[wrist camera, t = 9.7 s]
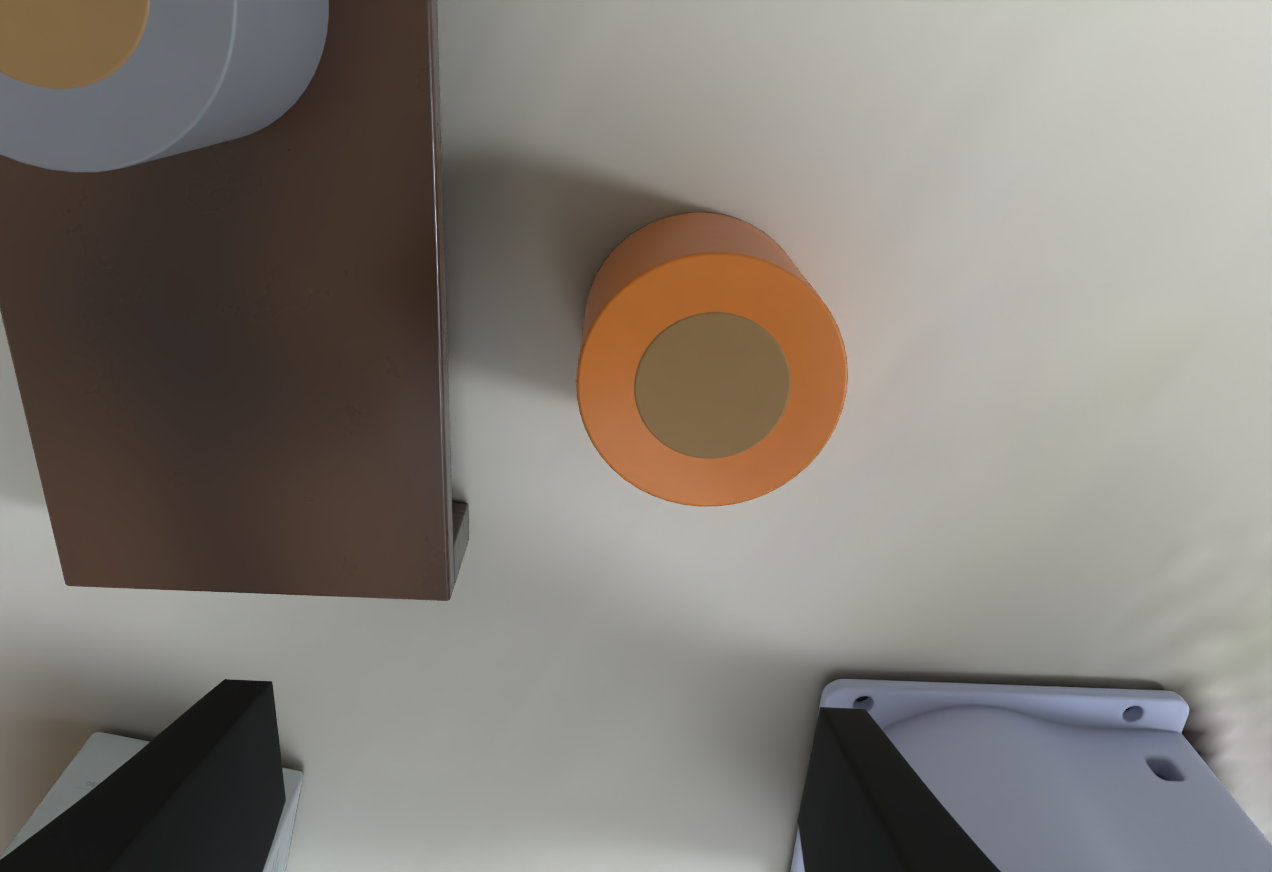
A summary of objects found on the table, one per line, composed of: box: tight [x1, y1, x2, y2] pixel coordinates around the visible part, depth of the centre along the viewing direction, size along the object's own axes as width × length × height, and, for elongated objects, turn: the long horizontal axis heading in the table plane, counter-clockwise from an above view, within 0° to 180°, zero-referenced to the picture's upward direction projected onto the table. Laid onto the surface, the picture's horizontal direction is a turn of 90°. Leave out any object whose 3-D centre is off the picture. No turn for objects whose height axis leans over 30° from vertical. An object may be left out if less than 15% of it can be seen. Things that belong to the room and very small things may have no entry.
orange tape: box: [576, 212, 848, 506], centre depth 18 cm, size 5×5×4 cm
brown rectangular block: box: [0, 0, 469, 601], centre depth 17 cm, size 8×15×3 cm, turn 177°
